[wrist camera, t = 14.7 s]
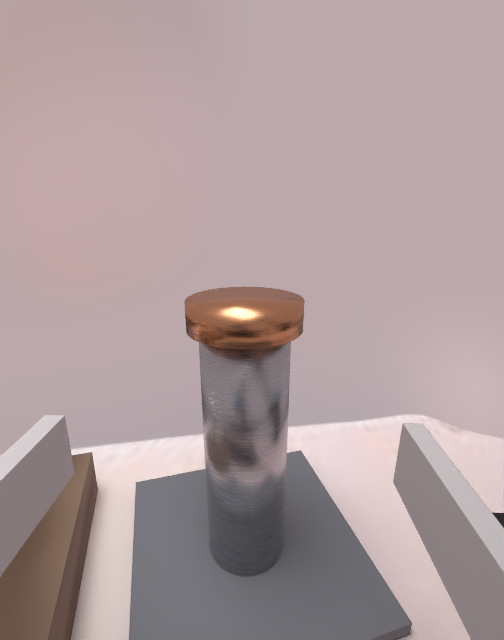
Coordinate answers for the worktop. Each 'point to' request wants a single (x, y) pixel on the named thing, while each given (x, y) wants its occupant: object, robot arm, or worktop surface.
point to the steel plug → (245, 417)
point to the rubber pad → (260, 590)
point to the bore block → (51, 564)
